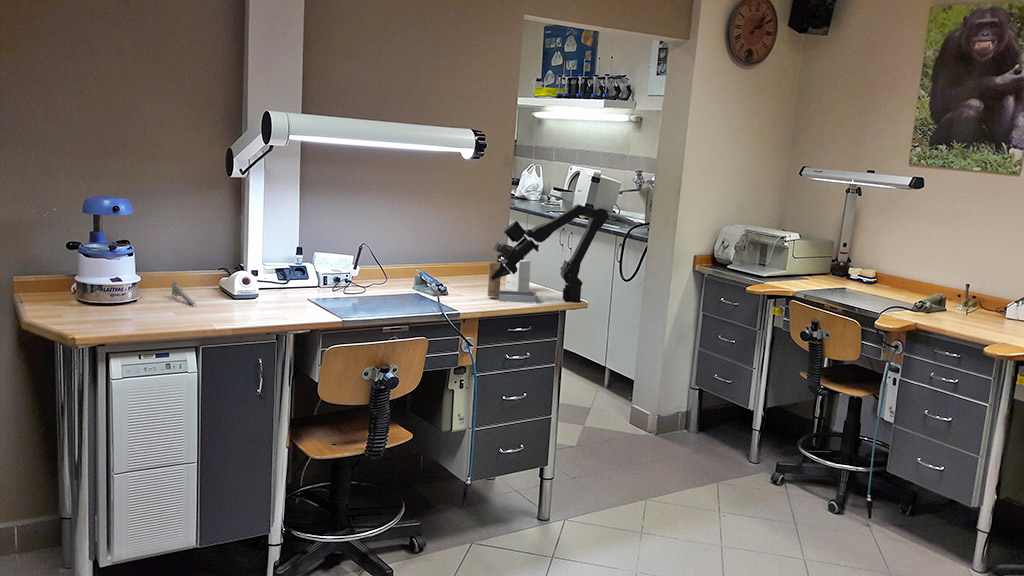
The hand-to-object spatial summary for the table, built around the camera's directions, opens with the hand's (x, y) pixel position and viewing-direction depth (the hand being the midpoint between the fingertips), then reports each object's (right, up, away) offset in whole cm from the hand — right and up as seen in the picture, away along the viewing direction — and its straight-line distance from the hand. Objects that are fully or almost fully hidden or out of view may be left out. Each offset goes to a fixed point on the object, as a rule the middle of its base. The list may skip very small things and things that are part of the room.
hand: (490, 277), depth 326 cm
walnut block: (+1, -7, +1) cm, 7 cm away
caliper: (-107, -9, -35) cm, 113 cm away
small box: (+10, -5, +22) cm, 25 cm away
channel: (+10, -9, +2) cm, 14 cm away
